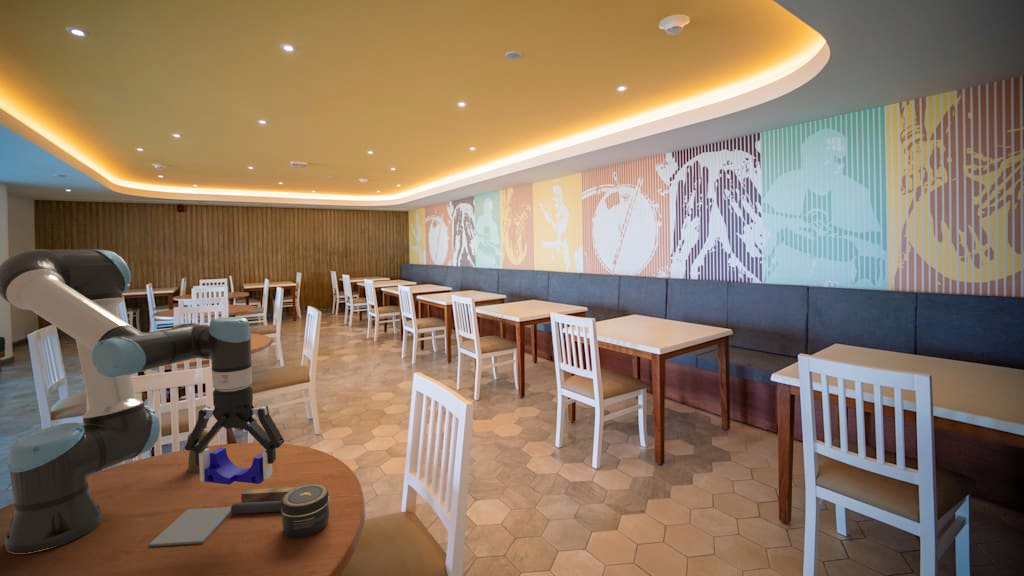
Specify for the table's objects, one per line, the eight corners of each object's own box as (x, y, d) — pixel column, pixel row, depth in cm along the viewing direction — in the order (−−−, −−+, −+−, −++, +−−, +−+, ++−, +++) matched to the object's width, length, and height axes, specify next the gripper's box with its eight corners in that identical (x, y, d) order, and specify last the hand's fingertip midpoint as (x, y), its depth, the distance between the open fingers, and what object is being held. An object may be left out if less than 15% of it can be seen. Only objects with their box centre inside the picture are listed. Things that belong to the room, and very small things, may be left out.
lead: (236, 509, 109) (231, 516, 106) (235, 501, 108) (230, 507, 106) (295, 506, 110) (291, 513, 108) (294, 497, 109) (290, 504, 107)
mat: (149, 546, 95) (148, 544, 95) (187, 511, 108) (187, 509, 108) (202, 543, 96) (202, 541, 96) (235, 508, 109) (234, 506, 109)
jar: (285, 518, 105) (283, 487, 104) (330, 509, 108) (329, 479, 108) (279, 544, 95) (277, 510, 95) (329, 533, 99) (328, 501, 98)
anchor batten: (241, 503, 111) (241, 493, 111) (245, 499, 113) (245, 489, 113) (299, 500, 112) (298, 490, 112) (302, 496, 114) (301, 486, 114)
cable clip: (204, 481, 99) (204, 456, 99) (219, 471, 104) (219, 447, 103) (254, 487, 98) (255, 461, 97) (267, 477, 102) (268, 452, 102)
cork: (216, 465, 131) (214, 430, 130) (193, 474, 126) (190, 437, 125) (206, 460, 134) (204, 425, 133) (183, 469, 129) (181, 432, 128)
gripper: (161, 393, 94) (167, 488, 96) (283, 391, 96) (286, 484, 98) (184, 382, 101) (189, 471, 103) (297, 380, 104) (300, 467, 105)
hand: (237, 477), depth 101 cm, fingers closed on cable clip, 13 cm apart
